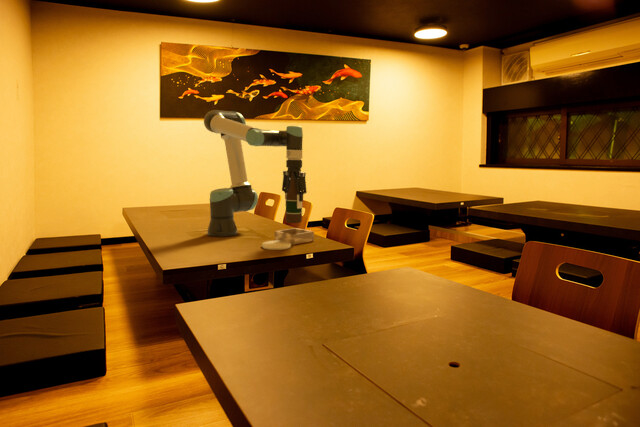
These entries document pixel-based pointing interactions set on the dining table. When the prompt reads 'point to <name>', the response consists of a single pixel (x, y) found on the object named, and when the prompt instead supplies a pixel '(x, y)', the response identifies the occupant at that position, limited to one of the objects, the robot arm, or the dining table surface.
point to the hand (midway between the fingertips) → (293, 207)
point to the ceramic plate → (276, 245)
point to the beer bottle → (292, 204)
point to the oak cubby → (294, 235)
